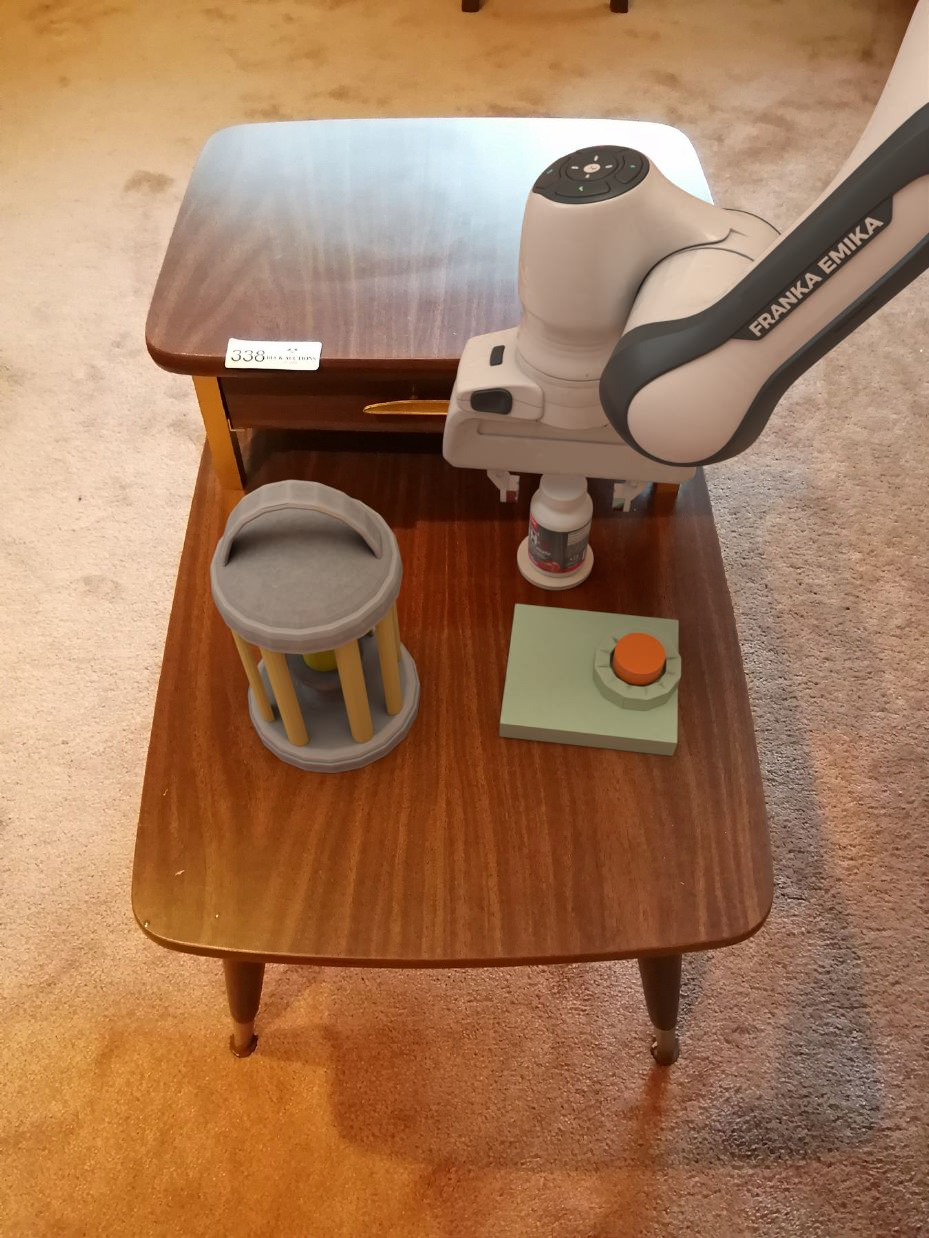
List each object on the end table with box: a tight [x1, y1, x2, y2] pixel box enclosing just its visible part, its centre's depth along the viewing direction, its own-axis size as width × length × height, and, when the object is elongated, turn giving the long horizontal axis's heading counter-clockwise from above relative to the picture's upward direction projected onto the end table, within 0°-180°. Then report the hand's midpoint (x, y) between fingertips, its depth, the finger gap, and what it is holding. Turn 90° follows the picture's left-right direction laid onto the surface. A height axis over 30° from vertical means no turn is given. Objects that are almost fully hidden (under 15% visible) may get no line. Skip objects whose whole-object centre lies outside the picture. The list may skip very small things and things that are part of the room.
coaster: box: [516, 535, 594, 591], centre depth 91 cm, size 7×7×1 cm
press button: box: [613, 633, 665, 685], centre depth 79 cm, size 4×4×2 cm
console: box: [498, 603, 682, 757], centre depth 81 cm, size 14×12×4 cm
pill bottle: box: [528, 474, 594, 577], centre depth 86 cm, size 5×5×10 cm
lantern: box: [209, 479, 421, 774], centre depth 72 cm, size 14×14×25 cm
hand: (564, 501), depth 84 cm, fingers open, 8 cm apart
